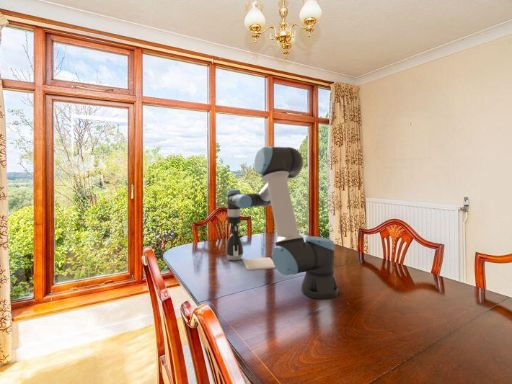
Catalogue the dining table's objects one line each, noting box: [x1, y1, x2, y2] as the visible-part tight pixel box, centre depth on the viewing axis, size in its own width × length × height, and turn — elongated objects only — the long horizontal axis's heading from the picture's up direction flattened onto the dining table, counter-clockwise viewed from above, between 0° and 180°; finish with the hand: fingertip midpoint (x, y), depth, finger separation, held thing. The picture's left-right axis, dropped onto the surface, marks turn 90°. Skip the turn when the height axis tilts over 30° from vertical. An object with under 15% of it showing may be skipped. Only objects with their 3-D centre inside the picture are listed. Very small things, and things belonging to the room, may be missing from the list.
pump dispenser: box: [225, 233, 244, 261], centre depth 165 cm, size 10×10×15 cm
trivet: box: [242, 257, 276, 271], centre depth 156 cm, size 16×16×1 cm
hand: (234, 253), depth 165 cm, fingers closed on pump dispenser, 10 cm apart
